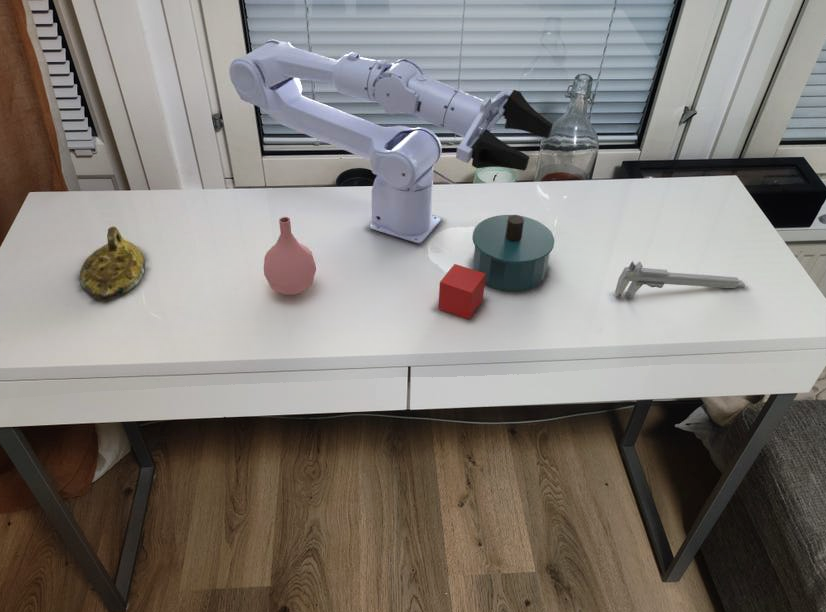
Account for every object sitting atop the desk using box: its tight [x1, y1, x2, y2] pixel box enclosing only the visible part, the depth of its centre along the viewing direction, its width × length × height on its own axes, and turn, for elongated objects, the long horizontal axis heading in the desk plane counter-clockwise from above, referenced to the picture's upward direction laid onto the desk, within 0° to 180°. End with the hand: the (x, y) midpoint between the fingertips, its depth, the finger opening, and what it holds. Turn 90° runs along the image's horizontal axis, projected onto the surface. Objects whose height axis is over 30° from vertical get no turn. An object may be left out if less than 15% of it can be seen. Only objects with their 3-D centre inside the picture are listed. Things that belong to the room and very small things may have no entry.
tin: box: [472, 246, 550, 293], centre depth 116 cm, size 11×11×6 cm
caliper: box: [614, 260, 746, 299], centre depth 112 cm, size 20×1×6 cm, turn 99°
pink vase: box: [263, 216, 317, 295], centre depth 110 cm, size 8×8×12 cm
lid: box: [472, 214, 555, 264], centre depth 113 cm, size 12×12×4 cm
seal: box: [79, 225, 146, 302], centre depth 115 cm, size 9×5×15 cm
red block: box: [437, 263, 486, 320], centre depth 110 cm, size 5×5×5 cm
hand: (539, 147), depth 105 cm, fingers open, 7 cm apart
